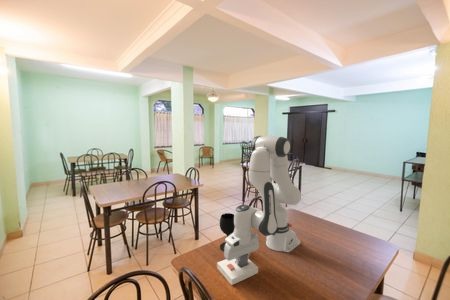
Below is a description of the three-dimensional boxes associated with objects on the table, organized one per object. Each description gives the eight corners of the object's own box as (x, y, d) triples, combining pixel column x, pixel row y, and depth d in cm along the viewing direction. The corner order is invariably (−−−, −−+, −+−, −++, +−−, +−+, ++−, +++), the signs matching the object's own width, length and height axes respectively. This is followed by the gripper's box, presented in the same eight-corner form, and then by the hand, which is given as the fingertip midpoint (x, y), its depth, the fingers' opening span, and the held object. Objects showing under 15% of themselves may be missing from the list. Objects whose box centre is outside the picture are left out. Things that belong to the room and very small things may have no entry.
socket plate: (241, 257, 117) (241, 251, 117) (257, 272, 105) (258, 265, 105) (217, 267, 109) (217, 261, 109) (231, 285, 97) (231, 277, 97)
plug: (243, 262, 111) (243, 250, 110) (247, 266, 108) (247, 254, 107) (236, 265, 109) (236, 252, 108) (241, 269, 106) (241, 256, 105)
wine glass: (217, 244, 131) (217, 214, 128) (232, 241, 134) (232, 211, 132) (223, 253, 121) (223, 221, 119) (239, 250, 125) (239, 218, 122)
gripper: (254, 229, 115) (253, 252, 116) (222, 239, 104) (222, 264, 106) (261, 234, 109) (261, 258, 111) (229, 245, 99) (229, 272, 100)
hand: (242, 261), depth 108 cm, fingers closed on plug, 4 cm apart
